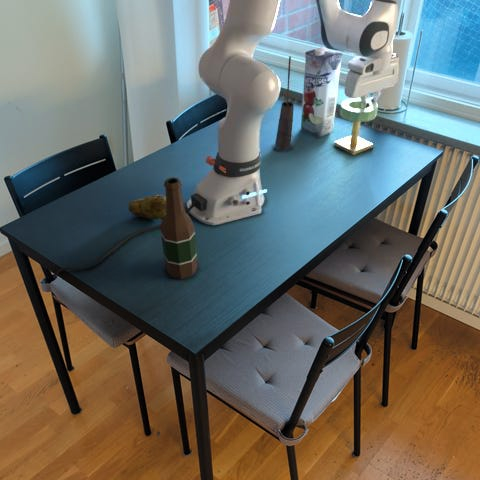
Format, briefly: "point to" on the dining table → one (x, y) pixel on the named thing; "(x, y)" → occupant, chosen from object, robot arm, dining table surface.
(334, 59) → the juice carton
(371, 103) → the ring
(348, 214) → the dining table surface
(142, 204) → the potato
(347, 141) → the stand
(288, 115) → the butter churn
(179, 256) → the beer bottle
